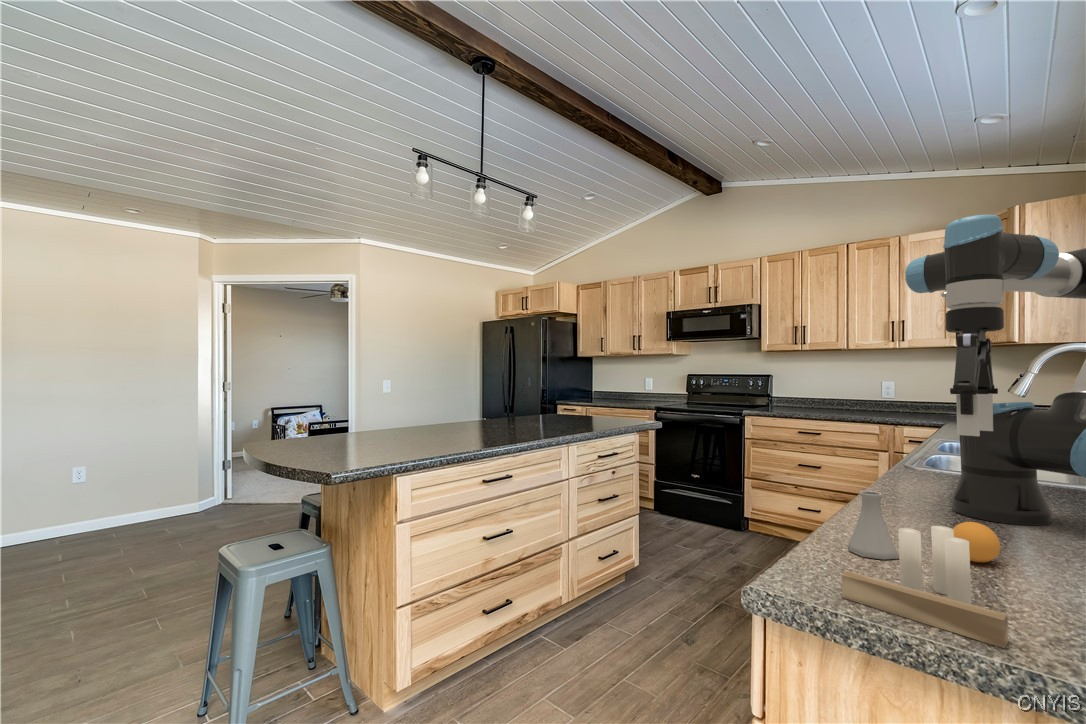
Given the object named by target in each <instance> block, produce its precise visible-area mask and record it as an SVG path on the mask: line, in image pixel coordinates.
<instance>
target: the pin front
mask: <svg viewBox="0 0 1086 724" xmlns="http://www.w3.org/2000/svg"><path fill="white" fill-rule="evenodd" d="M930 532H931V533H930V534H931V557H932V559H931V561H932V563H931V564H932V566H931V567H932V589H933V591H934V592H935V593H938V594H941V595H945V596H947V592H946V565H945V537H954V530H953V528H951V527H948V526H944V525H931V526H930Z"/></svg>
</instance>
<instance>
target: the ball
mask: <svg viewBox="0 0 1086 724" xmlns="http://www.w3.org/2000/svg"><path fill="white" fill-rule="evenodd" d="M952 529H953V530H954V537H956V538H961V539H965V540H967V541H969V552H970V562H973V563H974V562H975V563H988V562H991V561H994V559H995V558H997V557H998V555H999V554H1000V552H1001V542H1000V539H999V536H997V534H996V533H995V532H994V530H992V529H991V528H989V526H986V525H984V524H982V523H980V522H975V521H965V522H961V523H960V522H959V524H957V525H956V526H954V527H953V528H952Z"/></svg>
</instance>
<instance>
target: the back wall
mask: <svg viewBox="0 0 1086 724" xmlns="http://www.w3.org/2000/svg"><path fill="white" fill-rule="evenodd" d="M841 591H842V593H841V594H842V595H841V598H842V599H846V600H848V601H852V602H854V603H859V604H861V605H865V606H867V607H871V608H873V609H878V610H879V611H880V610H881V611H883V612H887V613H890V614H893V615H897V616H900V617H903V618H906V619H910V620H913V621H916V622H919V623H922V624H924V625H925V624H926V625H928V626H932V627H935V628H938V629H941V630H945V631H949V632H951V633H954V634H957V635H960V636H962V637H963V636H964V637H968V638H970V639H974V640H977V641H980V642H983V643H987V644H989V645H992V646H996V647H999V648H1002V649H1006V647H1007V645H1008V644H1009V627H1008V626H1009V624H1008V622H1009V621H1008V619H1009V618H1008V614H1006V613H1003V612H999V611H996V610H992V609H988V608H986V607H985V608H984V607H981V606H977V605H974V604H972V603H971V604H967V603H963V602H960V601H956V600H952V599H949V598H947V597H944V596H940V595H937V594H933V593H930V592H927V591H919V590H916V589H912V588H908V587H905V586H901V585H900V584H897V583H894V582H891V581H885V580H883V579H882V580H881V579H878V578H874V577H871V576H868V575H864V574H861V573H857V572H852V571H849V570H847V571H845V572H844V573H842V574H841Z"/></svg>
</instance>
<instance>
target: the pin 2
mask: <svg viewBox="0 0 1086 724" xmlns="http://www.w3.org/2000/svg"><path fill="white" fill-rule="evenodd" d="M945 565H946V592H947V595H946V598H949V599H952V600H956V601H960V602H963V603H967V604H971V605H972V583H971V580H972V579H971V561H970V552H969V541H967V540H965V539H961V538H956V537H945Z"/></svg>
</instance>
